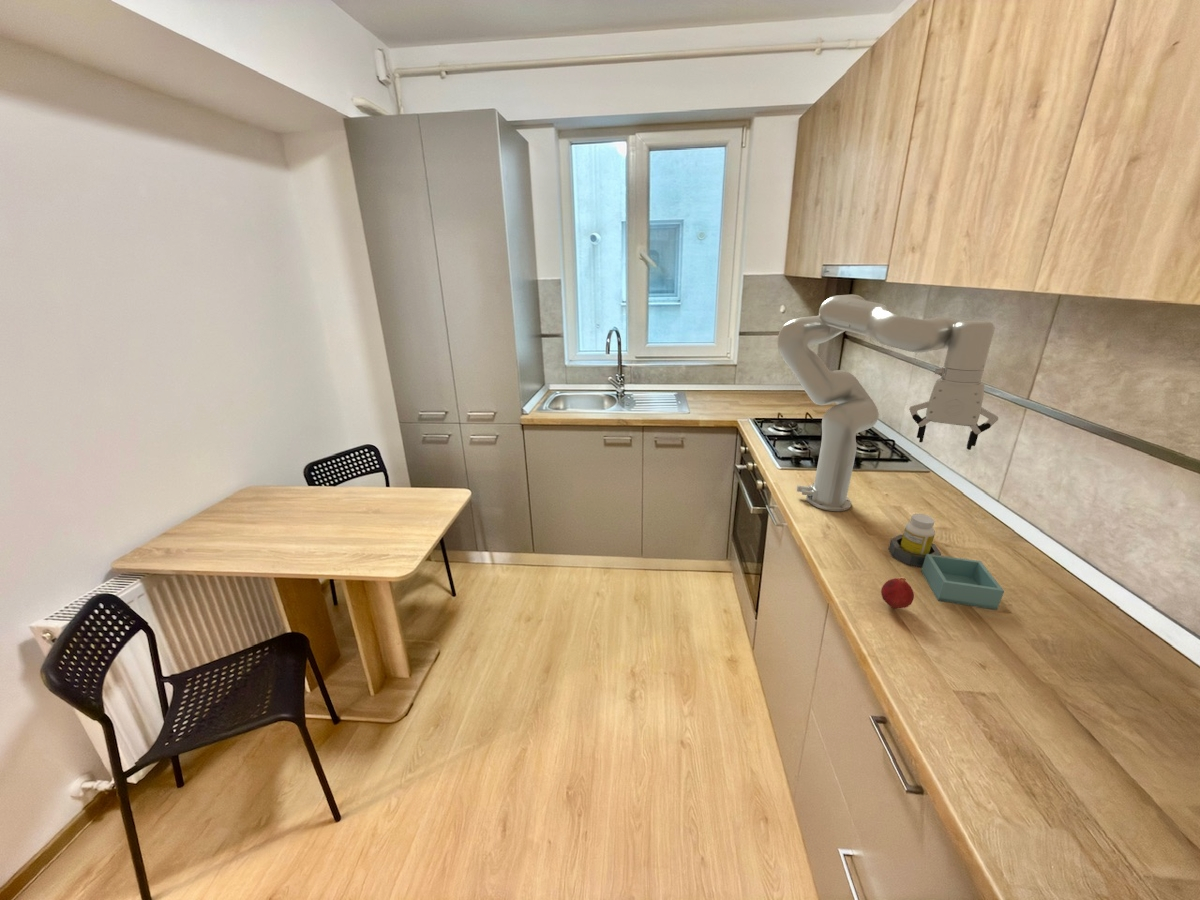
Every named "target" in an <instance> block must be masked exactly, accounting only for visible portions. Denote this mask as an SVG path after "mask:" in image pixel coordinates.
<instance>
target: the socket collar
mask: <svg viewBox="0 0 1200 900" xmlns="http://www.w3.org/2000/svg"><path fill="white" fill-rule="evenodd" d="M902 537H903V534H902V533H901V534H898V535H896V536H894V537H891V538H890V541H889V545H888V549H887V550H888V551H889V553H890V555H891V558H893V559H895V560H897V561H898V562H900V563H902V564H904V565H906V566H908V567H912V568H920V569H922V567H923V563H924V560H925V557H926V555H921V554H913V553H911V552H909V551H907V550H905V549H903V548H901V547H900V545H901V541H902ZM929 554H932V555H939V556H942V552H941V551H940V550H939V548H938V547H937V545H936V544H935V543H933V542H932V545H931V549H930V552H929Z"/></svg>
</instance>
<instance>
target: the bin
mask: <svg viewBox="0 0 1200 900" xmlns="http://www.w3.org/2000/svg"><path fill="white" fill-rule="evenodd" d="M920 572H921V573H922V575H923V577H924V579H925V581H926V583H927V584H928V586H929V588H930V589H931V591H932V593H933V595H934V596H935V599H936V600H937V601H938V602H944V603H951V604H954V605H955V604H956V605H964V606H969V607H975V606H977V607H976V608H983V609H989V610H996V611H998V608H999V605H1000V603H1001V601H1002V598H1003V595H1004V593H1005V590H1004V589H1003V588H1002V586H1001V585H1000V584H999V582H998V581H997V580H996V579H995V577H994V576H993V575H992V574H991V572H990V571H989V570H988V568H987V567H986V566H985V565H984V563H983V562H982V561H981V560H977V559H976V560H975V559H969V558H960V557H954V556H946V555H945V556H944V555H941V556H939V555H932V554H926V557H925V560H924V563H923V567H922V568H921V570H920Z"/></svg>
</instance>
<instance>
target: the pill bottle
mask: <svg viewBox="0 0 1200 900" xmlns="http://www.w3.org/2000/svg"><path fill="white" fill-rule="evenodd" d="M934 524H935V519H934V518H933V517H932V516H929V515H926V514H922V513H913V514H912V515H911V517H910V521H908V522H906V524H905V526H904V531H903V534H902V535H903V537H902V541H901V545H900V547H901V548H903V549H905V550H907V551H909V552H911V553H913V554H921V555H926V554H929V552H930V549H931V545H932V543H933V541H934V538H935V535H936V534H935V533H936V532H935V529H934Z"/></svg>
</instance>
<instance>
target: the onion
mask: <svg viewBox="0 0 1200 900" xmlns="http://www.w3.org/2000/svg"><path fill="white" fill-rule="evenodd" d="M880 593H881V597H882V599H883V601H884V602H885V603H886V604H887V605H888V606H889V607H891V609H894V610H897V609H905V608H908V607H910V605H912V603H913V601H914V599H915V594H914V591H913V588H912V586H911V585H910V584H909V583H908V582H907V580H906V577H904V576H901V577H897V578H891V579H888V580H886V581H885V583H884V584H883V585H882V587H881V591H880Z"/></svg>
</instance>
